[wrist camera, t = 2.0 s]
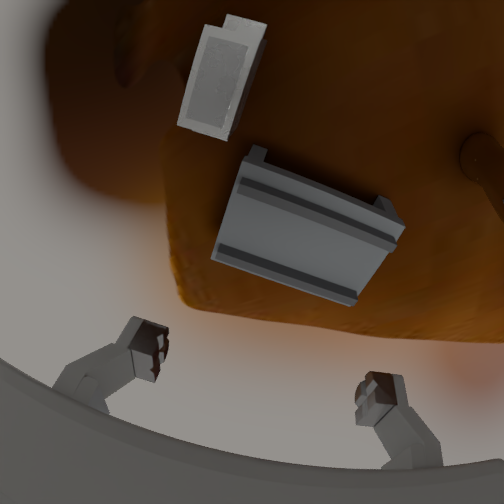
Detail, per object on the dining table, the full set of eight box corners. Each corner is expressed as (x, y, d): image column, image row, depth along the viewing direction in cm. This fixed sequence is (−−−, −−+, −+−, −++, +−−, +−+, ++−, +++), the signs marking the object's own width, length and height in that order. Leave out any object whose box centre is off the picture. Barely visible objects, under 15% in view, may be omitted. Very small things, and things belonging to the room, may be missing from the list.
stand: (252, 141, 33) (239, 166, 27) (392, 199, 34) (409, 235, 28) (222, 229, 40) (207, 267, 34) (346, 274, 41) (350, 315, 35)
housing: (224, 13, 25) (210, 8, 20) (272, 26, 25) (267, 22, 21) (190, 127, 32) (172, 140, 28) (233, 140, 33) (221, 156, 29)
